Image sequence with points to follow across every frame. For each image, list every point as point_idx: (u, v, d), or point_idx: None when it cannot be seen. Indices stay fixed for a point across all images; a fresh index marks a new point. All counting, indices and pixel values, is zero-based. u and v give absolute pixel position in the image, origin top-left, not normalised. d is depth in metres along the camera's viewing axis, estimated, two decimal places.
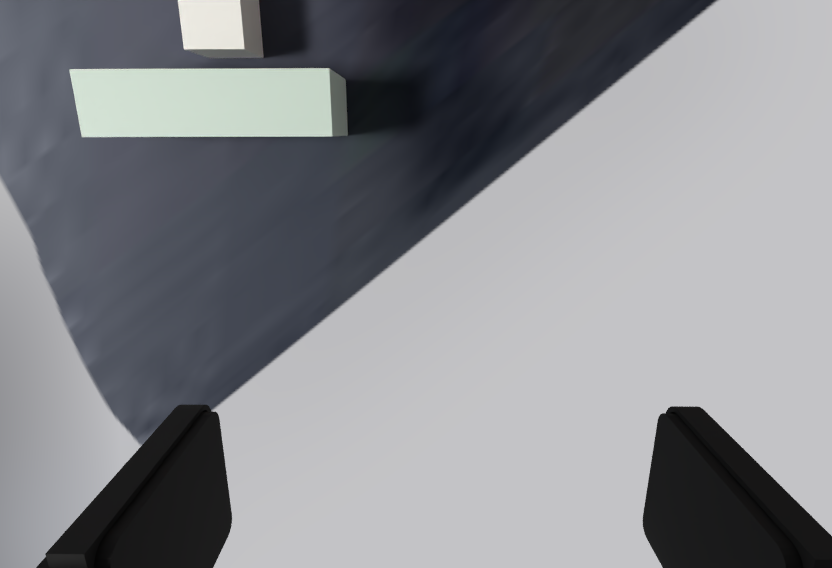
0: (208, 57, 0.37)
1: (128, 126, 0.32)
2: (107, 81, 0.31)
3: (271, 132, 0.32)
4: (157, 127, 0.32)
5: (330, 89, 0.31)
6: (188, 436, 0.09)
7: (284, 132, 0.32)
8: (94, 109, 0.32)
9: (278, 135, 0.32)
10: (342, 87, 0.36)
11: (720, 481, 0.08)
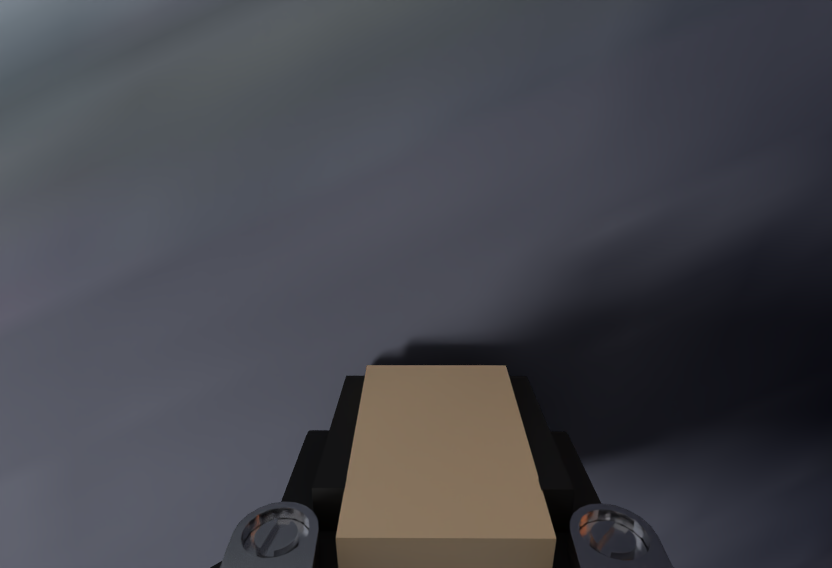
0: None
1: None
2: None
3: None
4: None
5: None
6: None
7: None
8: None
9: None
10: None
11: None
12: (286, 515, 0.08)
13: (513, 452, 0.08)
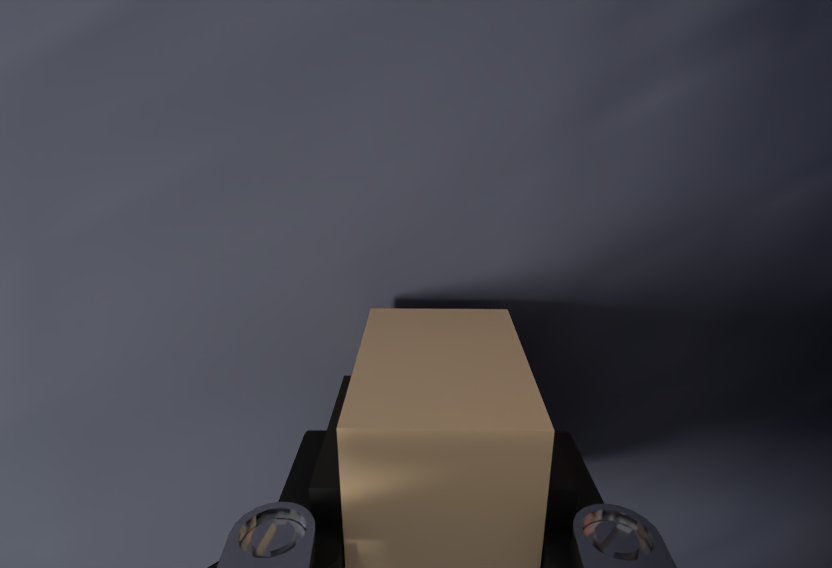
0: None
1: None
2: None
3: None
4: None
5: None
6: None
7: None
8: None
9: None
10: None
11: None
12: (283, 515, 0.08)
13: (513, 369, 0.09)
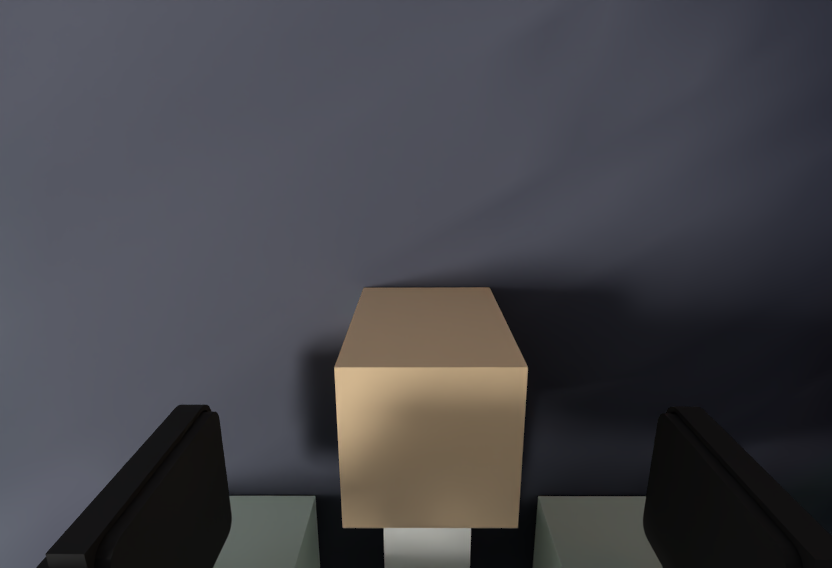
0: None
1: None
2: None
3: None
4: None
5: None
6: (188, 436, 0.09)
7: None
8: None
9: None
10: None
11: (720, 481, 0.08)
12: None
13: (493, 327, 0.09)
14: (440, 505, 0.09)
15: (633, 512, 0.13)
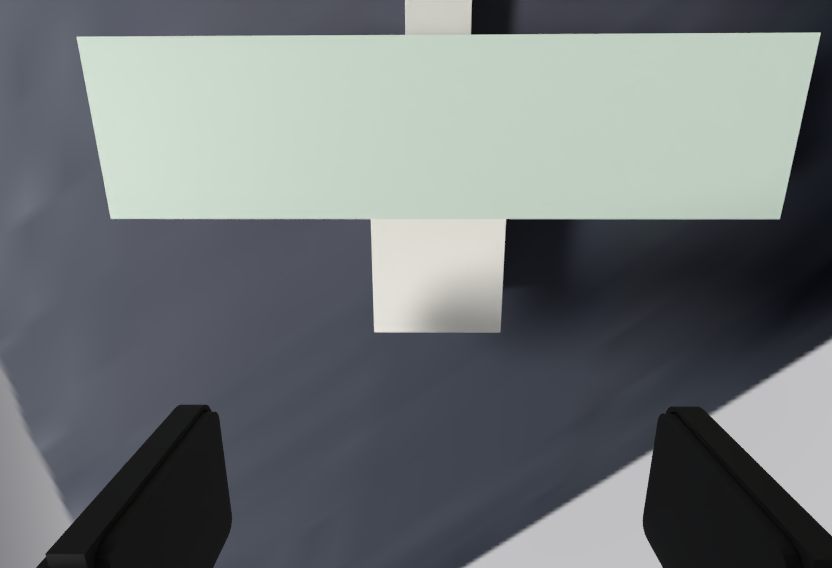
0: None
1: (235, 192, 0.12)
2: (182, 71, 0.11)
3: (617, 208, 0.12)
4: (312, 195, 0.12)
5: None
6: (188, 436, 0.09)
7: (652, 208, 0.12)
8: (145, 148, 0.12)
9: (634, 216, 0.12)
10: None
11: (720, 481, 0.08)
12: None
13: None
14: None
15: None
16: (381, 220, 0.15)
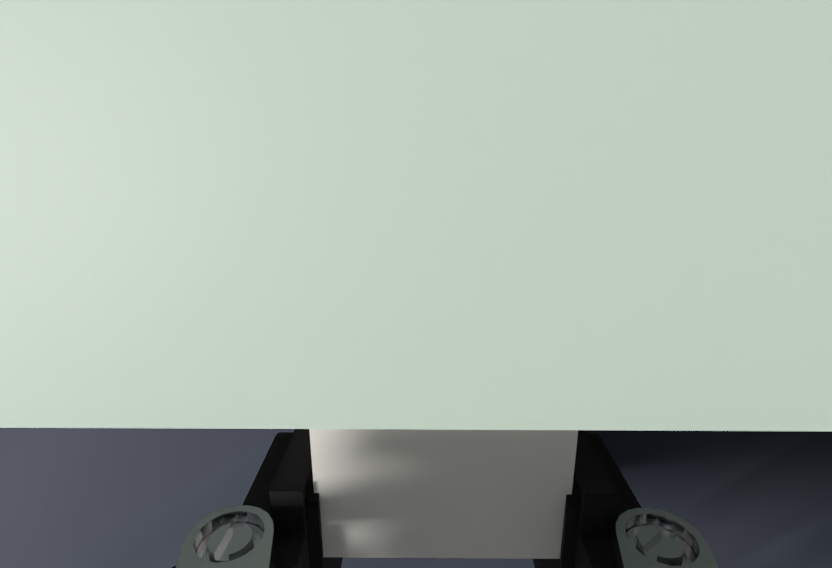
0: None
1: None
2: None
3: None
4: (91, 368, 0.04)
5: None
6: None
7: None
8: None
9: None
10: None
11: None
12: (243, 519, 0.08)
13: None
14: None
15: None
16: None
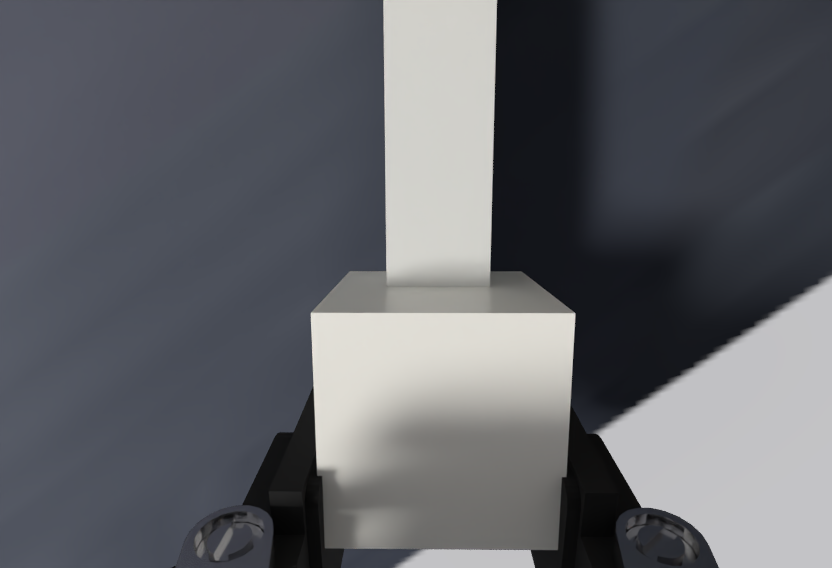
0: None
1: None
2: None
3: None
4: None
5: None
6: None
7: None
8: None
9: None
10: None
11: None
12: (243, 519, 0.08)
13: None
14: None
15: None
16: (332, 339, 0.08)
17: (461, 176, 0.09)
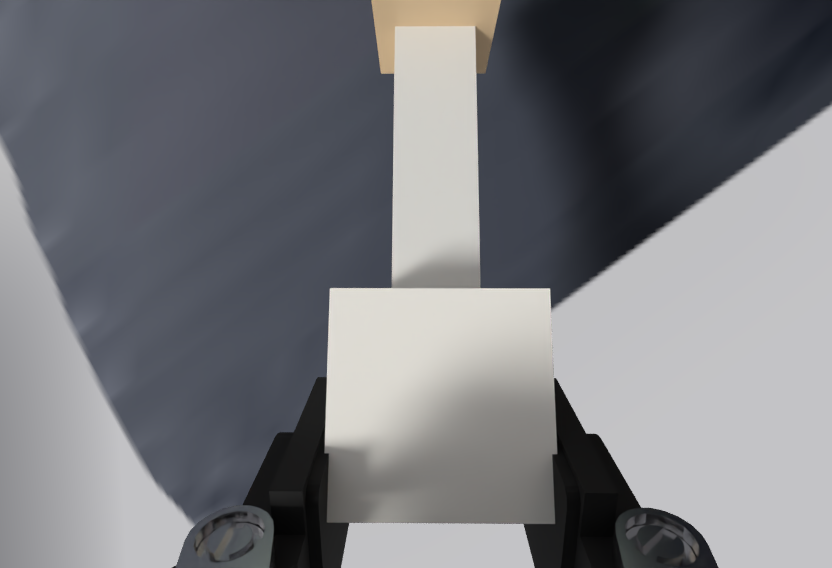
0: None
1: None
2: None
3: None
4: None
5: None
6: None
7: None
8: None
9: None
10: None
11: None
12: (243, 519, 0.08)
13: None
14: None
15: None
16: (346, 310, 0.09)
17: (453, 215, 0.12)
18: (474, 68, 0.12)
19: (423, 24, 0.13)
